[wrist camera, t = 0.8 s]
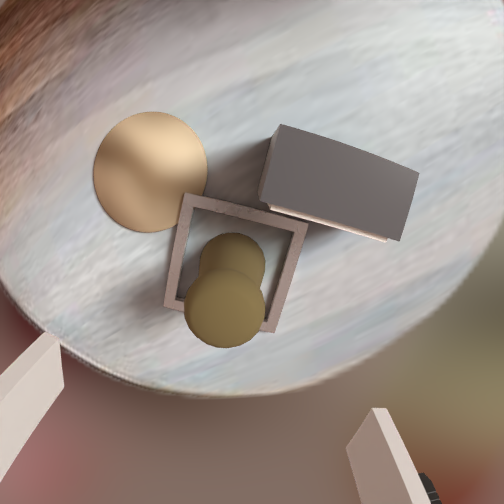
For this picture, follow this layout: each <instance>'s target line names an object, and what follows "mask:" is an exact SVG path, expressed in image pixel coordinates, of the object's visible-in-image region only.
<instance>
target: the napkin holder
mask: <svg viewBox="0 0 504 504" xmlns="http://www.w3.org/2000/svg"><path fill="white" fill-rule="evenodd" d="M418 176H419V173H418V172H416V171H414V170H411V169H409V168H407V167H404V166H402V165H399V164H397V163H394V162H392V161H389V160H387V159H384V158H382V157H379V156H377V155H374V154H371V153H369V152H366V151H363V150H361V149H358V148H355V147H352V146H349V145H347V144H344V143H341V142H338V141H335V140H332V139H329V138H326V137H323V136H320V135H316V134H313V133H310V132H307V131H303V130H300V129H296V128H293V127H290V126H286V125H282V124H280V125H279V127H278V128H277V130H276V131H275V133H274V134H273V136H272V138H271V142H270V145H269V149H268V153H267V156H266V160H265V164H264V168H263V171H262V175H261V179H260V183H259V187H258V190H257V193H258V196H259V200H260V201H261V202H265V203H267V204H268V206H269V208H270V210H273V211H277V212H281V213H284V214H288V215H292V216H295V217H299V218H303V219H306V220H310V221H314V222H317V223H321V224H324V225H328V226H331V227H335V228H338V229H342V230H345V231H349V232H352V233H355V234H359V235H362V236H366V237H369V238H372V239H376V240H379V241H382V242H385V243H386V241H387V238H390V239H393V240H396V241H400V238H401V235H402V232H403V229H404V226H405V222H406V219H407V216H408V213H409V209H410V206H411V202H412V199H413V195H414V191H415V188H416V184H417V180H418Z"/></svg>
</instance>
